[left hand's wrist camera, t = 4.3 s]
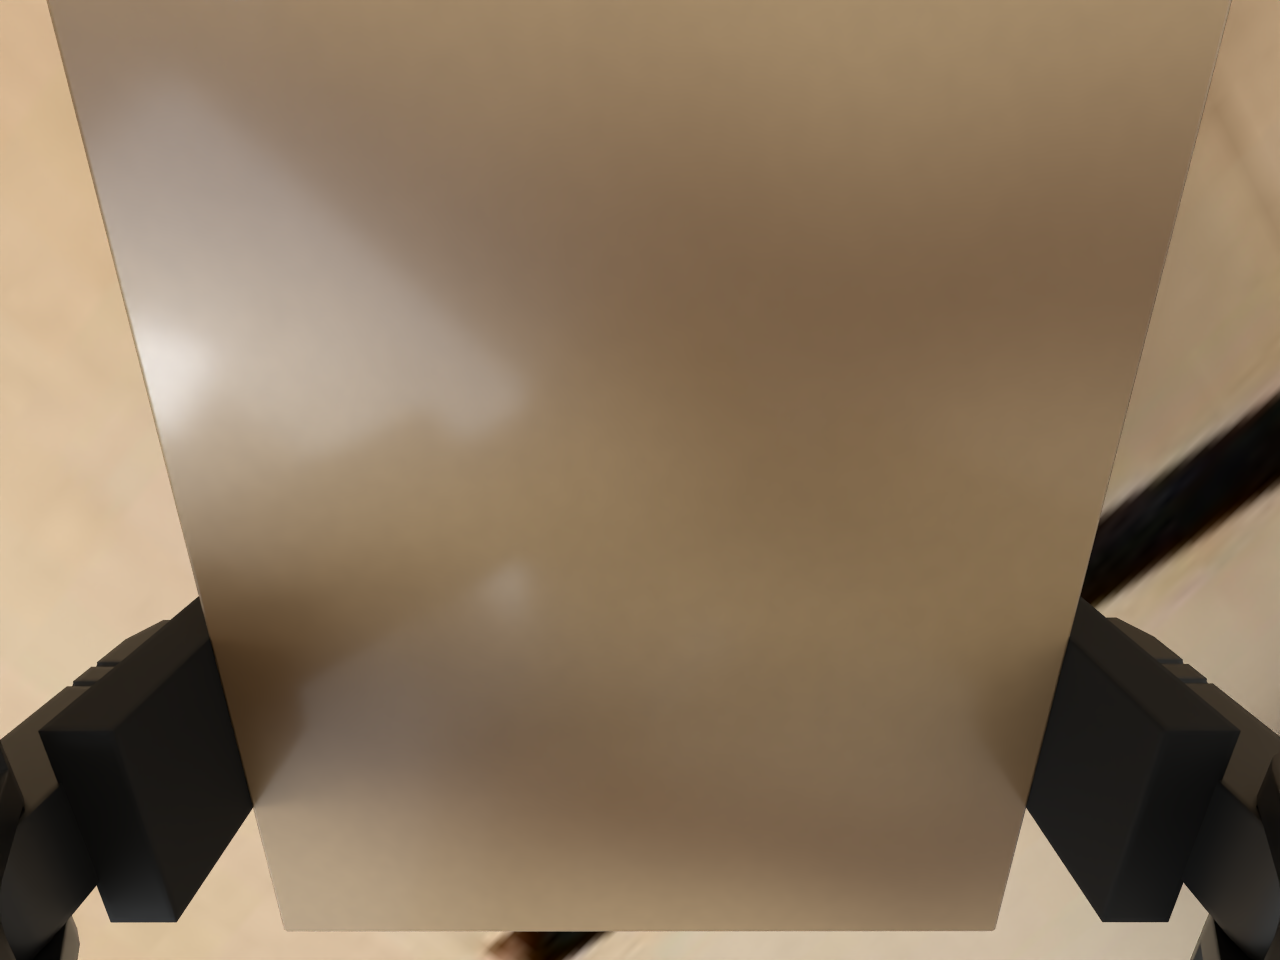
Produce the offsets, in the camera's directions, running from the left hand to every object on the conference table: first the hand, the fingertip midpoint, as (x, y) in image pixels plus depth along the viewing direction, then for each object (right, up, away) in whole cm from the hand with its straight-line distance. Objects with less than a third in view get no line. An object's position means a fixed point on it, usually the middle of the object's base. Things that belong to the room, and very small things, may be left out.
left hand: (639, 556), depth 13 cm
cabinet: (0, +8, +3) cm, 8 cm away
